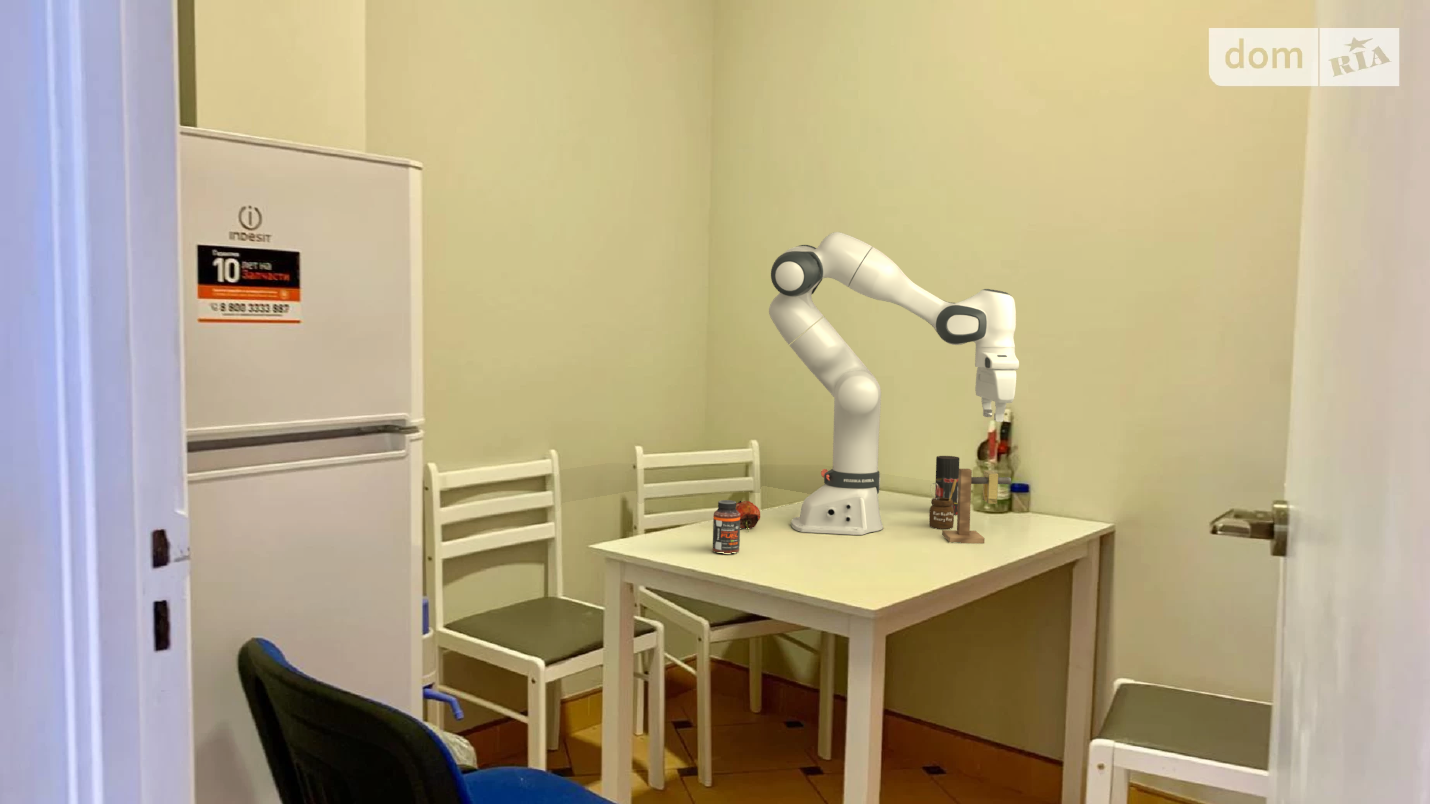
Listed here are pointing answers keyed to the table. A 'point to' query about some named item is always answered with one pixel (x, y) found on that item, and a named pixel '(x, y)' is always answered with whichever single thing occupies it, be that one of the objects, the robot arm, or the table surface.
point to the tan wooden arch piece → (990, 487)
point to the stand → (967, 508)
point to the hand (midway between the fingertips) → (992, 419)
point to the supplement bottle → (726, 527)
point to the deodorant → (947, 478)
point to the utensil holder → (942, 511)
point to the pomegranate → (748, 514)
